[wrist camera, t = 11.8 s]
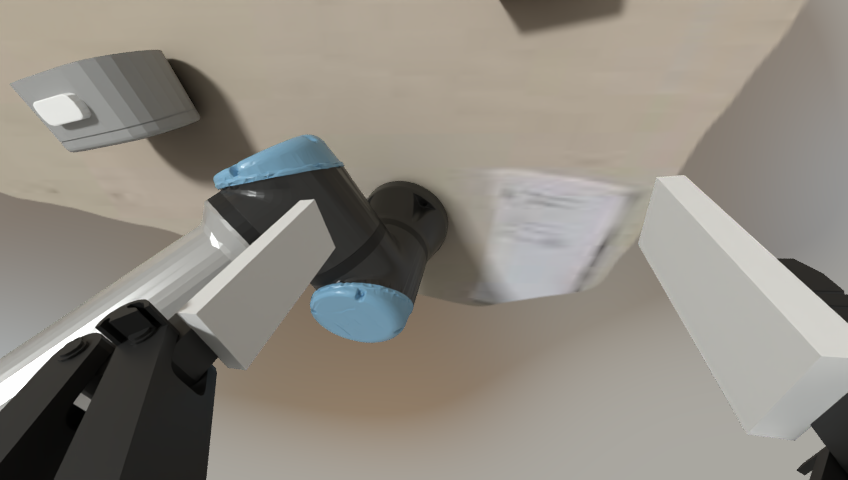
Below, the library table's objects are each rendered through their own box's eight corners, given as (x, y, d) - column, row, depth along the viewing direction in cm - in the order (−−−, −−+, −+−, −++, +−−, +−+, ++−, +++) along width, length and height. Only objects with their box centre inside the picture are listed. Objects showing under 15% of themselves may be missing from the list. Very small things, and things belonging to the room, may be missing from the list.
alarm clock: (134, 132, 55) (47, 159, 45) (92, 74, 50) (-18, 90, 39) (219, 114, 49) (141, 141, 39) (182, 46, 44) (80, 56, 33)
